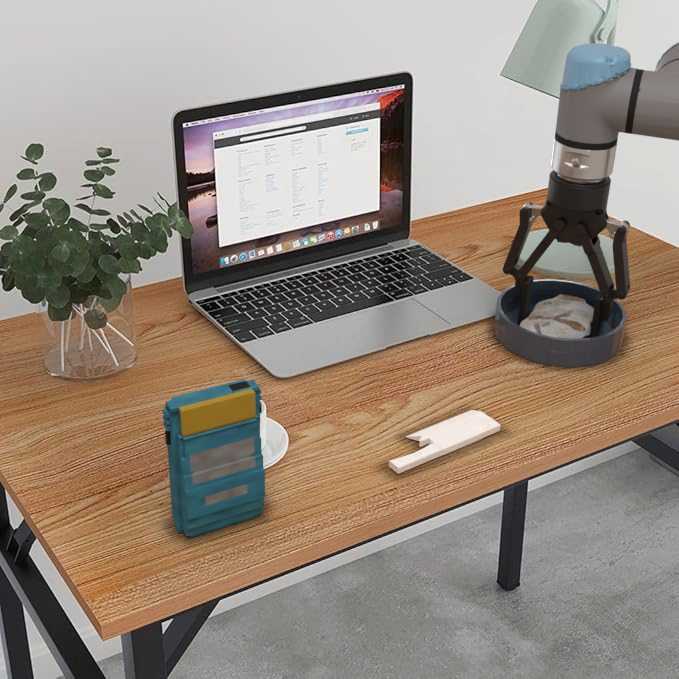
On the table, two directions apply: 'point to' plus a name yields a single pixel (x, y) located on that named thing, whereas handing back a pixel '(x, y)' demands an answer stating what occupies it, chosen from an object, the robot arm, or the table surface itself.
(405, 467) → the white plastic strip tool
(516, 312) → the bowl
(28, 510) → the table surface
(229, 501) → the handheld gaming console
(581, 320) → the stone
